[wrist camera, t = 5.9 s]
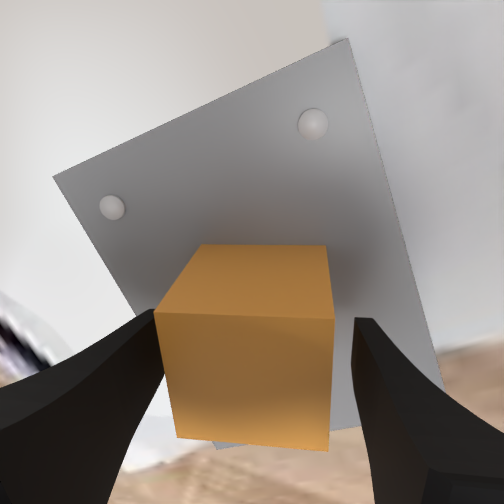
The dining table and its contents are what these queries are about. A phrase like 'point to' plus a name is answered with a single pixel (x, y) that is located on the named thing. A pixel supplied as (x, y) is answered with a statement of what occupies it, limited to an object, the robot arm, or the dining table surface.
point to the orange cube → (250, 345)
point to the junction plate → (263, 203)
